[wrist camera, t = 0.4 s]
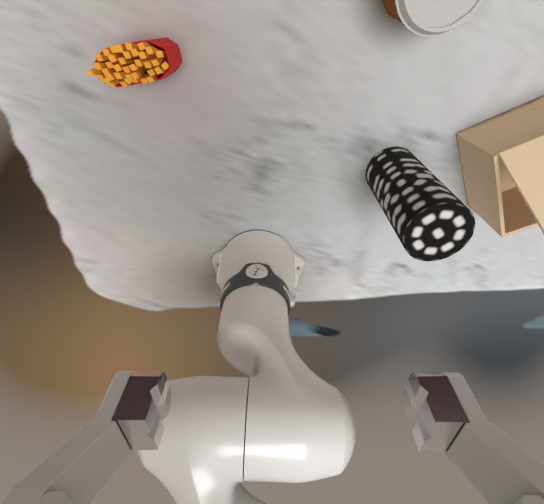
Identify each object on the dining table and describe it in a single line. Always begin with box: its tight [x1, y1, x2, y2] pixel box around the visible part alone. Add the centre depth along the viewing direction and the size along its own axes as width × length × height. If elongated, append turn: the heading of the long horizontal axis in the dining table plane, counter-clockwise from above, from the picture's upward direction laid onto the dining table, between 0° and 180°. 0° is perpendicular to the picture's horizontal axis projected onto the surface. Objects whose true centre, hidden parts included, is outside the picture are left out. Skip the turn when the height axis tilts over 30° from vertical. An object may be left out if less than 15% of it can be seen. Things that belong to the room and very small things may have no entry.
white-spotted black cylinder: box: [366, 147, 475, 261], centre depth 47 cm, size 8×8×20 cm
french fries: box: [86, 38, 182, 87], centre depth 41 cm, size 9×4×13 cm, turn 99°
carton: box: [456, 95, 544, 237], centre depth 49 cm, size 14×18×11 cm
